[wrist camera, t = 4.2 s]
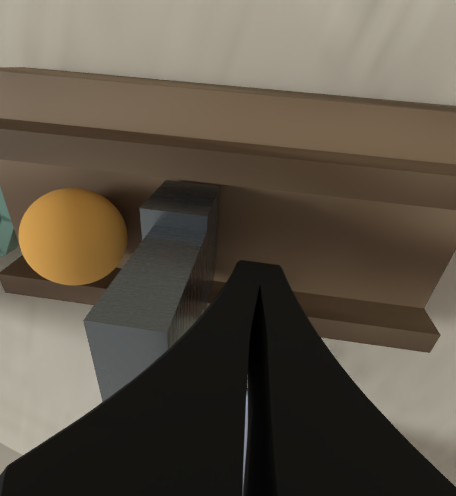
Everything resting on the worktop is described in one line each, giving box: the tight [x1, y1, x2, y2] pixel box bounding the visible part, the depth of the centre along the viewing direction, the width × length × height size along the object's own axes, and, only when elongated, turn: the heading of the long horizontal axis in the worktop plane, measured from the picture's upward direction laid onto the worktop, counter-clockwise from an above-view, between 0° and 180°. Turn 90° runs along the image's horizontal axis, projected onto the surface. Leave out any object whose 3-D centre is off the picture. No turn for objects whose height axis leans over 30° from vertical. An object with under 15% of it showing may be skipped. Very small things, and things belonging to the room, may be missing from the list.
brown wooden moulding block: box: [0, 67, 456, 353], centre depth 13 cm, size 10×18×4 cm, turn 86°
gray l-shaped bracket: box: [83, 180, 220, 401], centre depth 9 cm, size 4×2×7 cm, turn 176°
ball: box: [18, 188, 128, 285], centre depth 11 cm, size 4×4×4 cm
